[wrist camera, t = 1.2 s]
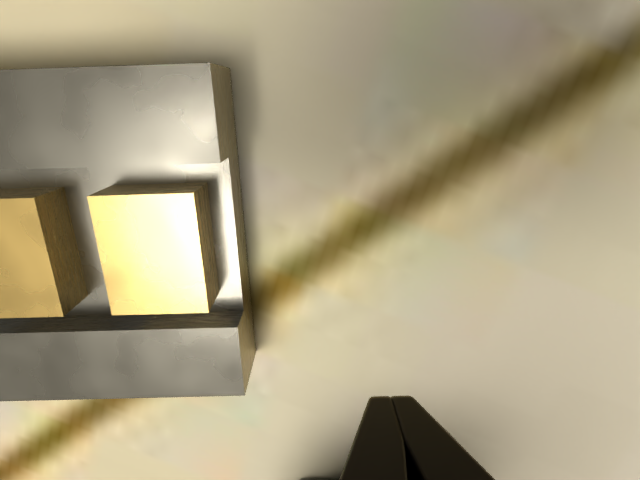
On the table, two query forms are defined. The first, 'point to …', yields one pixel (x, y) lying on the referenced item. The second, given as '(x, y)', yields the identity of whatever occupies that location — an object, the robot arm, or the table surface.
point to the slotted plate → (79, 182)
